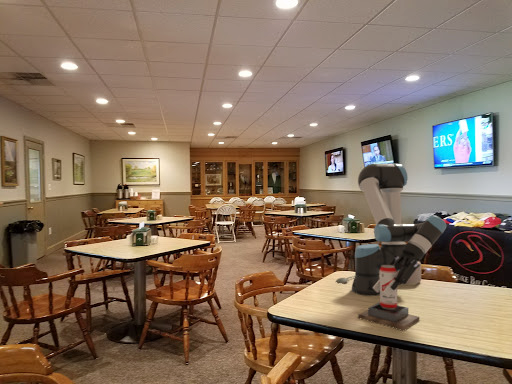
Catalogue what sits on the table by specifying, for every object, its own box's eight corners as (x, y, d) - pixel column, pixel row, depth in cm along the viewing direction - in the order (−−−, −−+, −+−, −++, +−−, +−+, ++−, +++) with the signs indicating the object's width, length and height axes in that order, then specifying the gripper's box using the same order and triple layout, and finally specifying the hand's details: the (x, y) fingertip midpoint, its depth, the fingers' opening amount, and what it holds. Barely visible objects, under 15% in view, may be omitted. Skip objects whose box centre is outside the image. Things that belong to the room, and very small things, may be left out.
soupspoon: (333, 284, 192) (343, 287, 187) (333, 278, 191) (343, 281, 187) (354, 276, 207) (364, 278, 202) (354, 270, 207) (364, 273, 202)
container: (418, 287, 180) (418, 264, 180) (383, 282, 190) (382, 261, 190) (423, 280, 195) (423, 259, 195) (390, 276, 205) (389, 256, 205)
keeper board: (358, 318, 135) (358, 314, 135) (375, 309, 145) (375, 306, 145) (403, 330, 122) (403, 326, 122) (419, 320, 132) (419, 316, 132)
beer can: (398, 310, 130) (398, 267, 130) (381, 309, 131) (380, 267, 131) (395, 305, 136) (394, 264, 136) (379, 304, 137) (378, 264, 137)
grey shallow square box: (368, 315, 134) (368, 307, 134) (381, 308, 141) (381, 301, 141) (395, 322, 126) (395, 314, 126) (408, 315, 133) (408, 307, 133)
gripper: (439, 258, 128) (401, 306, 124) (406, 251, 146) (372, 292, 142) (427, 245, 127) (388, 292, 123) (395, 239, 145) (360, 280, 141)
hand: (380, 292), depth 133 cm, fingers closed on beer can, 6 cm apart
